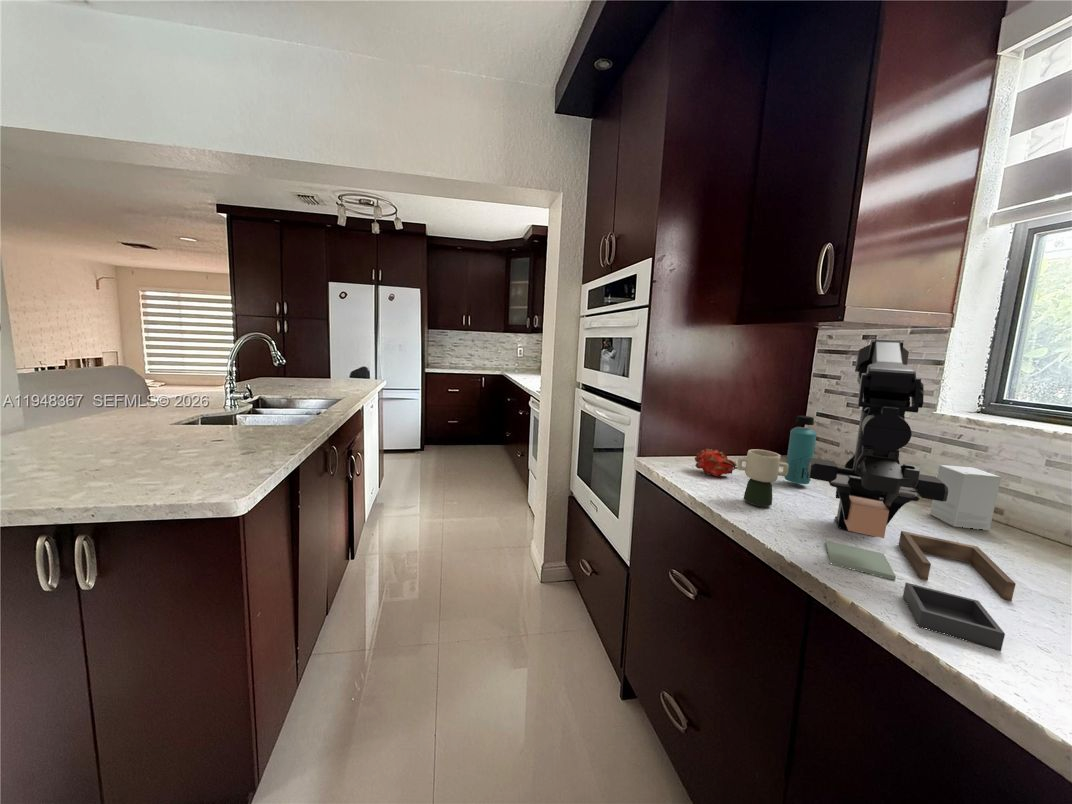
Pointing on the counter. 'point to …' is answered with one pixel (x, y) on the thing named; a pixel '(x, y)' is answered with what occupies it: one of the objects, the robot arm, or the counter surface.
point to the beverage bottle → (800, 451)
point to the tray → (953, 616)
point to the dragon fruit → (714, 463)
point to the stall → (974, 555)
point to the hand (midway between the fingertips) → (863, 523)
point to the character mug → (761, 475)
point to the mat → (859, 559)
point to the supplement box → (967, 497)
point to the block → (867, 516)
